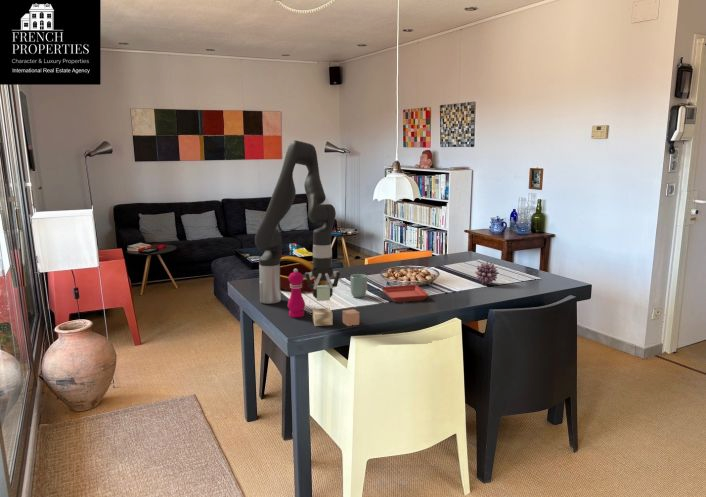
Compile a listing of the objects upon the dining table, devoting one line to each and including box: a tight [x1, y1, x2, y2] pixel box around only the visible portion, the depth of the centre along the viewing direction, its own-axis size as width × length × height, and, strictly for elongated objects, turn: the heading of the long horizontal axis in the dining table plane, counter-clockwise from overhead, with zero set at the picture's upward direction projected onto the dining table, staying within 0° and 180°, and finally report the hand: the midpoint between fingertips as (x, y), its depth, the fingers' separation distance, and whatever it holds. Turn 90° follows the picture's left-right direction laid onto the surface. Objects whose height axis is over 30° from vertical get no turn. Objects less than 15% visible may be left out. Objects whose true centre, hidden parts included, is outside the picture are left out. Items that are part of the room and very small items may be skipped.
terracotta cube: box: [342, 308, 360, 327], centre depth 212 cm, size 5×5×5 cm
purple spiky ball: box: [474, 261, 500, 285], centre depth 273 cm, size 12×12×12 cm
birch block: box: [312, 307, 334, 327], centre depth 213 cm, size 7×7×5 cm
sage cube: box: [315, 284, 331, 302], centre depth 211 cm, size 5×5×5 cm
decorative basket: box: [280, 255, 325, 293], centre depth 271 cm, size 34×29×15 cm
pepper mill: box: [287, 269, 306, 319], centre depth 221 cm, size 7×7×20 cm
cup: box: [349, 273, 368, 299], centre depth 250 cm, size 8×8×10 cm
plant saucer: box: [380, 284, 430, 303], centre depth 251 cm, size 18×18×3 cm
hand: (322, 297), depth 212 cm, fingers closed on sage cube, 5 cm apart
